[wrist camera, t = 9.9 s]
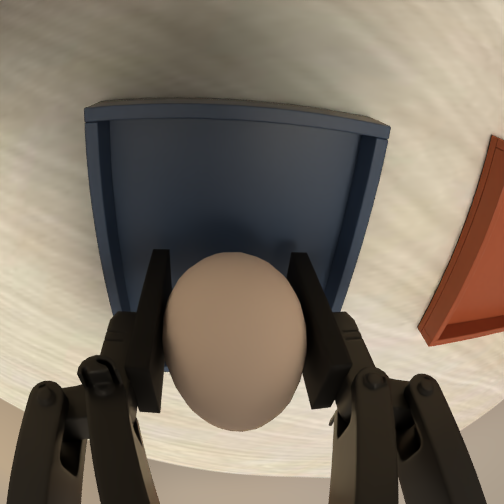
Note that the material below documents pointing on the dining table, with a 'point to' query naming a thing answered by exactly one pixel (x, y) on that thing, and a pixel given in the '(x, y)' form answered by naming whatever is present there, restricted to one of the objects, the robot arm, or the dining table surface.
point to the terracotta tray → (474, 266)
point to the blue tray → (229, 186)
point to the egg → (234, 340)
